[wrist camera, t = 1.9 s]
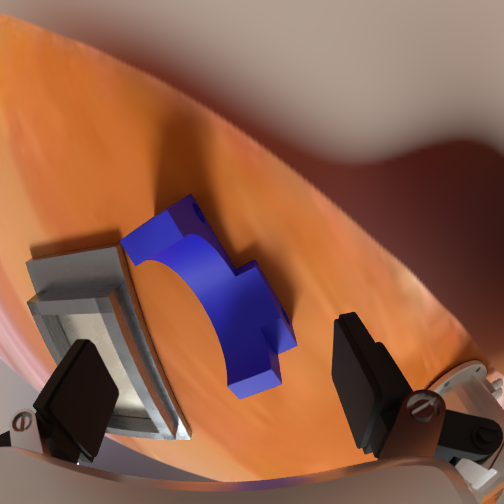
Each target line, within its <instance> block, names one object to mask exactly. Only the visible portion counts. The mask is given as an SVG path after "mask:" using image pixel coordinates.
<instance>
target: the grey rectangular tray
mask: <svg viewBox="0 0 504 504" xmlns="http://www.w3.org/2000/svg"><path fill="white" fill-rule="evenodd" d="M26 266H27V269H28V272H29V275H30V278H31V281H32V283H33V286H34V289H35V292H36V295H35V296H34V297H32V298H31V299H30V300H29V301H28V302H27V304H28V306H29V309H30V311H31V314H32V316H33V318H34V320H35V323H36V325H37V327H38V329H39V331H40V333H41V336H42V338H43V340H44V342H45V344H46V346H47V348H48V350H49V351H50V353H51V355H52V357H53V359H54V361H55V363H56V364H57V366H58V365H59V363H60V362H61V360H62V359H63V357H64V356H65V355H66V353H67V352H68V350H69V349H70V347H71V346H72V344H73V343H74V342H75V340H76V339H89V340H91V341H92V343H94V344H95V345H96V348H97V350H98V352H99V354H100V356H101V358H102V360H103V362H104V363H105V365H106V367H107V369H108V371H109V373H110V375H111V377H112V378H113V380H114V382H115V384H116V385H117V387H118V389H119V397H118V400H117V402H116V405H115V408H114V410H113V413H112V415H111V418H110V421H109V423H108V426H107V429H106V432H105V433H110V434H117V435H123V436H131V437H139V438H149V439H160V440H176V439H184V440H191V436H192V432H191V430H190V428H189V426H188V424H187V422H186V420H185V418H184V416H183V414H182V412H181V410H180V408H179V405H178V403H177V401H176V399H175V397H174V394H173V392H172V390H171V388H170V385H169V383H168V381H167V378H166V376H165V374H164V371H163V369H162V366H161V364H160V361H159V359H158V356H157V354H156V351H155V349H154V346H153V343H152V341H151V338H150V335H149V332H148V329H147V327H146V324H145V321H144V318H143V315H142V312H141V309H140V306H139V303H138V300H137V296H136V293H135V290H134V287H133V283H132V280H131V276H130V273H129V269H128V266H127V262H126V258H125V255H124V251H123V247H122V244H121V243H115V244H109V245H103V246H97V247H91V248H86V249H80V250H74V251H69V252H63V253H58V254H52V255H47V256H41V257H36V258H32V259H30V260H28V261H27V262H26Z"/></svg>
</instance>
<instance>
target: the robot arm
mask: <svg viewBox="0 0 504 504" xmlns="http://www.w3.org/2000/svg"><path fill="white" fill-rule="evenodd" d="M486 375H487V369H486V367H485V366H484V365H483V364H482V362H480V361H478V360H472V361H468V362H465V363H463V364H461V365H459V366H457V367H455V368H453V369H452V370H450V371H449V372H448V373H446V374H445V375H443V376H442V377H441V378H440V379H438V380H437V381H436V382H435V383H434V384H433V385H432V386H431V387H429V388H428V389H427V390H426V389H421V390H416V391H414V392H413V390H412V388H411V387H410V385H409V384H408V382H407V380H406V379H405V377H404V376H403V374H402V372H401V371H400V369H399V368H398V366H397V365H396V363H395V361H394V360H393V358H392V357H391V355H390V354H389V352H388V351H387V349H386V348H385V346H384V345H383V344H382V343H381V342H376V343H375V342H374V340H373V338H372V337H371V335H370V334H369V332H368V331H367V329H366V328H365V326H364V324H363V323H362V321H361V320H360V318H359V317H358V315H357V314H356V313H355V312H351V313H346V314H340V315H339V319H335V321H334V339H333V358H332V379H333V382H334V385H335V387H336V390H337V393H338V396H339V398H340V401H341V404H342V407H343V409H344V412H345V415H346V418H347V420H348V423H349V426H350V429H351V432H352V435H353V437H354V440H355V443H356V446H357V448H358V449H360V448H363V451H364V454H369V453H372V452H373V454H374V457H376V458H378V460H377V461H372V462H366V463H362V464H357V465H353V466H348V467H343V468H338V469H334V470H329V471H324V472H319V473H313V474H308V475H301V476H294V477H287V478H279V479H270V480H260V481H246V482H212V483H211V482H182V481H168V480H158V479H149V478H142V477H135V476H128V475H122V474H117V473H111V472H107V471H103V470H98V469H94V468H90V467H85V466H82V465H79V463H78V459H81V460H82V461H85V462H89V463H92V462H93V459H94V457H96V456H97V454H98V451H99V448H100V446H101V443H102V439H103V437H104V434H105V432H106V429H107V426H108V423H109V421H110V418H111V415H112V413H113V410H114V408H115V405H116V402H117V400H118V397H119V389H118V387H117V385H116V384H115V382H114V380H113V378H112V377H111V375H110V373H109V371H108V369H107V367H106V365H105V363H104V362H103V360H102V358H101V356H100V354H99V352H98V350H97V348H96V345H95V344H94V343H92V341H91V340H89V339H76V340H75V342H74V343H73V344H72V346H71V347H70V349H69V350H68V352H67V353H66V355H65V356H64V357H63V359H62V360H61V362H60V363H59V365H58V366H57V368H56V369H55V371H54V372H53V374H52V375H51V377H50V378H49V380H48V382H47V383H46V385H45V386H44V388H43V390H42V391H41V393H40V394H39V396H38V398H37V399H36V401H35V403H34V404H33V407H34V408H35V409H36V411H37V412H36V413H34V412H33V411H32V410H30V409H22V410H19V411H18V412H16V413H15V414H14V415H13V417H12V418H11V420H10V424H9V428H10V430H9V431H7V432H5V433H3V434H1V435H0V504H504V410H503V408H502V407H501V406H500V404H499V403H498V402H497V400H496V399H498V398H500V397H501V395H502V389H501V386H502V385H503V381H502V379H501V378H499V379H497V380H495V381H493V383H490V382H489V381H488V380H487V379H486Z"/></svg>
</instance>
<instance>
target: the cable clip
mask: <svg viewBox="0 0 504 504" xmlns="http://www.w3.org/2000/svg"><path fill="white" fill-rule="evenodd" d="M120 242H121V244H122V246H123V247H124V249H125V250H126V252H127V254H128V255H129V257H130V258H131V260H132V261H133V263H134V264H135V266H137V265H138V264H140V263H142V262H143V261H145V260H156V261H159V262H162V263H164V264H166V265H167V266H169V267H170V268H172V269H173V270H174V271H175V272H177V273H178V274H179V275H180V276H181V277H182V278H183V279H184V280H185V281H186V283H187V284H188V285H189V286H190V287H191V289H192V290H193V291H194V293H195V294H196V296H197V297H198V299H199V300H200V302H201V303H202V305H203V307H204V308H205V310H206V312H207V314H208V316H209V318H210V320H211V322H212V324H213V326H214V328H215V330H216V333H217V335H218V338H219V341H220V344H221V347H222V350H223V354H224V358H225V363H226V369H227V386H228V387H229V388H230V390H231V391H232V392H233V393H234V394H235V395H236V396H237V397H238V398H239V399H242V398H245V397H248V396H251V395H254V394H257V393H259V392H262V391H265V390H268V389H270V388H273V387H276V386H278V385H281V384H282V379H281V373H280V366H279V359H278V354H279V353H282V352H284V351H286V350H289V349H291V348H293V347H295V346H297V342H296V338H295V334H294V330H293V326H292V323H291V321H290V319H289V318H288V316H287V314H286V313H285V311H284V309H283V307H282V306H281V304H280V302H279V300H278V299H277V297H276V295H275V293H274V292H273V290H272V288H271V286H270V285H269V283H268V281H267V279H266V278H265V276H264V274H263V272H262V271H261V269H260V267H259V265H258V264H257V262H256V260H253V261H251V262H249V263H247V264H245V265H244V266H242V267H240V268H238V269H235V267H234V265H233V264H232V262H231V260H230V259H229V257H228V255H227V254H226V252H225V250H224V249H223V247H222V245H221V244H220V242H219V240H218V239H217V237H216V235H215V234H214V232H213V230H212V228H211V227H210V225H209V223H208V222H207V220H206V218H205V217H204V215H203V213H202V212H201V210H200V208H199V206H198V205H197V203H196V201H195V200H194V198H193V196H192V194H190V195H188V196H186V197H185V198H183V199H181V200H180V201H178V202H176V203H175V204H173V205H171V206H170V207H168V208H167V209H165V210H163V211H162V212H160V213H159V214H157V215H155V216H154V217H152V218H151V219H150V220H148V221H147V222H145V223H144V224H142V225H141V226H140V227H138V228H137V229H135V230H134V231H133V232H131V233H130V234H128V235H127V236H126V237H124V238H123V239H121V240H120Z"/></svg>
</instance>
